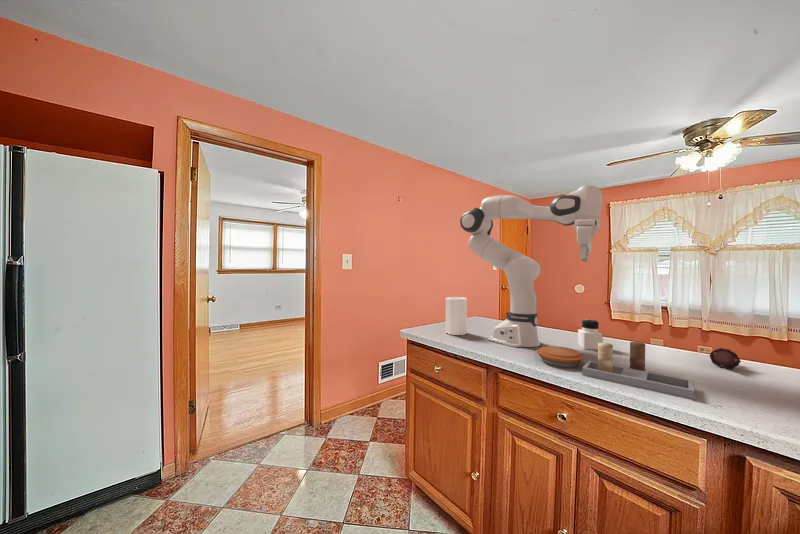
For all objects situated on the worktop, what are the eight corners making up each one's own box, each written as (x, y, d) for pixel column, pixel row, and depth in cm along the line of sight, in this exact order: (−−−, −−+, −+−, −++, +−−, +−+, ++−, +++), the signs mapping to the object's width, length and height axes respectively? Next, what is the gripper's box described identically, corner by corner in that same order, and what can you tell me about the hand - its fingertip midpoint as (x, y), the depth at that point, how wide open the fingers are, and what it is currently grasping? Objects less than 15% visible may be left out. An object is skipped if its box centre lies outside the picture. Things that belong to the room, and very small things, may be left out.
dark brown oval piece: (749, 357, 96) (737, 350, 108) (717, 347, 101) (708, 342, 113) (742, 376, 97) (730, 368, 109) (710, 366, 102) (702, 359, 113)
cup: (470, 333, 156) (471, 297, 156) (460, 337, 148) (460, 299, 148) (452, 330, 164) (452, 296, 164) (441, 333, 155) (441, 298, 155)
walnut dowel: (629, 373, 99) (629, 343, 99) (630, 370, 102) (630, 341, 102) (644, 376, 96) (644, 345, 96) (645, 373, 99) (645, 343, 99)
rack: (582, 375, 97) (582, 367, 97) (588, 367, 104) (588, 360, 104) (694, 400, 79) (694, 390, 79) (692, 388, 87) (692, 380, 87)
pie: (590, 363, 109) (590, 350, 109) (574, 373, 99) (575, 358, 99) (547, 354, 121) (547, 341, 121) (529, 362, 110) (529, 348, 110)
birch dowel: (596, 375, 97) (596, 344, 97) (598, 371, 100) (599, 342, 100) (611, 378, 94) (611, 346, 94) (613, 374, 97) (613, 344, 97)
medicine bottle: (602, 350, 126) (603, 322, 125) (584, 349, 127) (584, 321, 127) (595, 345, 133) (595, 319, 132) (577, 345, 134) (578, 318, 134)
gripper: (579, 232, 130) (576, 263, 129) (575, 219, 113) (571, 255, 112) (597, 232, 126) (594, 264, 125) (594, 219, 110) (591, 255, 109)
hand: (583, 260), depth 118 cm, fingers open, 8 cm apart
